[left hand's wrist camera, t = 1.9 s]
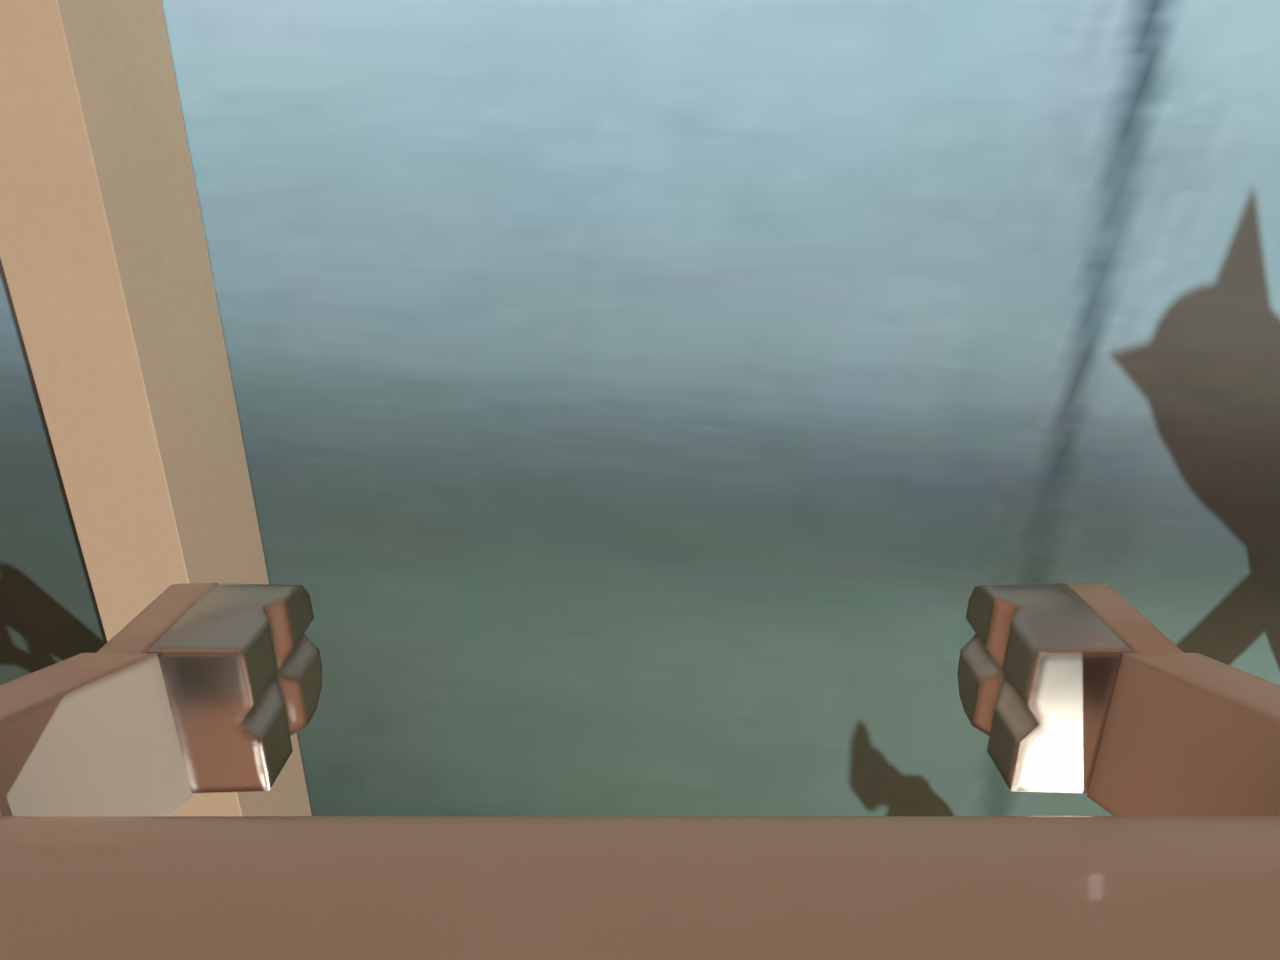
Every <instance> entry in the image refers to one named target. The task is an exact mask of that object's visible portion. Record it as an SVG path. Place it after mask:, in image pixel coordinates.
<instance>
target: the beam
mask: <svg viewBox="0 0 1280 960" xmlns="http://www.w3.org/2000/svg"><path fill="white" fill-rule="evenodd" d="M0 259H1V262H2V266H3V270H4V273H5V277H6V280H7V284H8V287H9V291H10V295H11V298H12V302H13V305H14V309H15V313H16V316H17V320H18V323H19V327H20V331H21V334H22V338H23V341H24V345H25V348H26V352H27V356H28V359H29V363H30V366H31V370H32V374H33V377H34V381H35V384H36V388H37V391H38V395H39V399H40V402H41V406H42V409H43V413H44V417H45V420H46V424H47V427H48V431H49V434H50V438H51V442H52V445H53V449H54V452H55V456H56V460H57V463H58V467H59V470H60V474H61V477H62V481H63V485H64V488H65V492H66V495H67V499H68V503H69V506H70V510H71V513H72V517H73V520H74V524H75V528H76V531H77V535H78V538H79V542H80V546H81V549H82V553H83V556H84V560H85V564H86V567H87V571H88V574H89V578H90V581H91V585H92V589H93V592H94V596H95V599H96V603H97V607H98V610H99V614H100V617H101V621H102V624H103V628H104V632H105V635H106V639H107V642H108V641H110V640H111V639H112V638H113V637H114V636H115V635H116V634H117V633H118V632H119V631H121V630H122V629H123V628H124V627H125V626H126V625H127V624H128V623H129V622H131V621H132V620H133V619H134V618H135V617H136V616H137V615H138V614H139V613H140V612H142V611H143V610H144V609H145V608H146V607H147V606H148V605H149V604H150V603H152V602H153V601H154V600H155V599H156V598H157V597H158V596H159V595H160V594H161V593H163V592H164V591H165V590H166V589H167V588H168V587H169V586H170V585H173V584H187V583H218V584H269V581H268V575H267V570H266V564H265V559H264V553H263V548H262V543H261V537H260V532H259V526H258V521H257V515H256V510H255V505H254V499H253V494H252V488H251V483H250V477H249V472H248V467H247V461H246V456H245V450H244V445H243V439H242V434H241V429H240V423H239V418H238V412H237V407H236V401H235V396H234V391H233V385H232V380H231V374H230V369H229V363H228V358H227V353H226V347H225V342H224V336H223V331H222V325H221V320H220V314H219V309H218V304H217V298H216V293H215V287H214V282H213V276H212V271H211V266H210V260H209V255H208V249H207V244H206V238H205V233H204V228H203V222H202V217H201V211H200V206H199V200H198V195H197V190H196V184H195V179H194V173H193V168H192V162H191V157H190V152H189V146H188V141H187V135H186V130H185V124H184V119H183V114H182V108H181V103H180V97H179V92H178V86H177V81H176V76H175V70H174V65H173V59H172V54H171V48H170V43H169V38H168V32H167V27H166V21H165V16H164V10H163V5H162V0H0ZM290 738H291V743H292V749H293V752H292V753H291V755H290V757H289V758H288V760H287V762H286V763H285V765H284V767H283V769H282V770H281V772H280V774H279V775H278V777H277V779H276V780H275V782H274V784H273V785H272V787H271V789H270V791H255V792H219V793H192V798H190V799H189V800H188V801H186V802H185V803H184V804H182V805H181V806H179V807H178V808H177V809H175V810H174V811H173V812H171V813H170V814H169V815H167V816H312V814H311V809H310V803H309V798H308V792H307V787H306V782H305V776H304V771H303V765H302V760H301V754H300V749H299V744H298V738H297V733H295V734H293V735H292V736H290Z"/></svg>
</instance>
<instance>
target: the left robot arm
mask: <svg viewBox="0 0 1280 960" xmlns="http://www.w3.org/2000/svg"><path fill="white" fill-rule="evenodd" d="M313 619H314V615H313V610H312V605H311V600H310V595H309V593H308V592H307V591H306V590H305V588H304V587H303V586H302V585H272V584H218V583H187V584H173V585H170V586H169V587H168V588H167V589H166V590H165V591H164V592H163V593H161V594H160V595H159V596H158V597H157V598H156V599H155V600H154V601H153V602H152V603H150V604H149V605H148V606H147V607H146V608H145V609H144V610H143V611H142V612H140V613H139V614H138V615H137V616H136V617H135V618H134V619H133V620H132V621H131V622H129V623H128V624H127V625H126V626H125V627H124V628H123V629H122V630H121V631H119V632H118V633H117V634H116V635H115V636H114V637H113V638H112V639H111V640H110V641H108V642H107V643H106V644H105V645H104V646H103V647H102V648H101V649H100V650H99V651H97V652H96V653H81V654H78V655H76V656H73V657H71V658H68V659H66V660H63V661H60V662H58V663H55V664H53V665H50V666H48V667H45V668H43V669H40V670H38V671H35V672H33V673H30V674H28V675H25V676H23V677H20V678H18V679H15V680H13V681H10V682H8V683H5V684H3V685H0V960H1280V685H1277V684H1275V683H1272V682H1270V681H1267V680H1265V679H1262V678H1260V677H1257V676H1255V675H1252V674H1250V673H1247V672H1245V671H1242V670H1239V669H1237V668H1234V667H1232V666H1229V665H1227V664H1224V663H1222V662H1219V661H1217V660H1214V659H1212V658H1209V657H1207V656H1204V655H1202V654H1199V653H1184V652H1183V651H1182V650H1180V649H1179V648H1178V647H1177V646H1176V645H1175V644H1174V643H1173V642H1172V641H1171V640H1169V639H1168V638H1167V637H1166V636H1165V635H1164V634H1163V633H1162V632H1161V631H1159V630H1158V629H1157V628H1156V627H1155V626H1154V625H1153V624H1152V623H1151V622H1150V621H1148V620H1147V619H1146V618H1145V617H1144V616H1143V615H1142V614H1141V613H1140V612H1139V611H1137V610H1136V609H1135V608H1134V607H1133V606H1132V605H1131V604H1130V603H1129V602H1128V601H1126V600H1125V599H1124V598H1123V597H1122V596H1121V595H1120V594H1119V593H1118V592H1117V591H1115V590H1114V589H1113V588H1112V587H1111V586H1110V585H1106V584H1103V583H1099V582H1098V583H1076V584H1065V583H1056V584H1014V585H983V586H978V587H975V588H974V590H973V592H972V594H971V597H970V599H969V603H968V609H967V614H966V619H967V620H968V622H969V623H970V625H971V627H972V628H973V630H974V631H975V633H976V634H975V635H974V636H973V637H972V638H971V639H970V640H969V641H968V642H967V643H966V644H965V646H964V647H963V648H962V649H961V651H960V659H959V666H958V683H959V694H960V698H961V702H962V705H963V708H964V711H965V713H966V715H967V717H968V719H969V720H970V722H971V724H972V726H974V727H975V728H977V729H979V730H980V731H982V732H984V733H985V734H987V735H988V736H990V738H989V743H988V749H987V752H988V753H989V755H990V757H991V758H992V760H993V762H994V763H995V765H996V767H997V769H998V770H999V772H1000V774H1001V775H1002V777H1003V779H1004V780H1005V782H1006V784H1007V785H1008V787H1009V789H1010V790H1011V791H1023V792H1060V793H1088V795H1087V797H1089V798H1090V799H1091V800H1093V801H1094V802H1095V803H1097V804H1098V805H1099V806H1101V807H1102V808H1103V809H1105V810H1106V811H1108V812H1109V813H1110V814H1112V815H1113V816H167V815H169V814H170V813H171V812H173V811H174V810H175V809H177V808H178V807H179V806H181V805H182V804H184V803H185V802H186V801H188V800H189V799H190V798H192V793H219V792H255V791H270V789H271V787H272V785H273V784H274V782H275V780H276V779H277V777H278V775H279V774H280V772H281V770H282V769H283V767H284V765H285V763H286V762H287V760H288V758H289V757H290V755H291V753H292V752H293V749H292V743H291V738H290V736H292V735H293V734H295V733H296V732H298V731H300V730H301V729H303V728H305V727H306V726H308V724H309V722H310V720H311V718H312V717H313V715H314V713H315V711H316V709H317V705H318V701H319V696H320V692H321V688H322V664H321V657H320V651H319V649H318V648H317V647H316V646H315V645H314V643H313V642H312V641H311V640H310V639H309V638H308V637H307V636H306V635H305V634H304V633H305V631H306V630H307V628H308V627H309V625H310V623H311V622H312V620H313Z"/></svg>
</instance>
